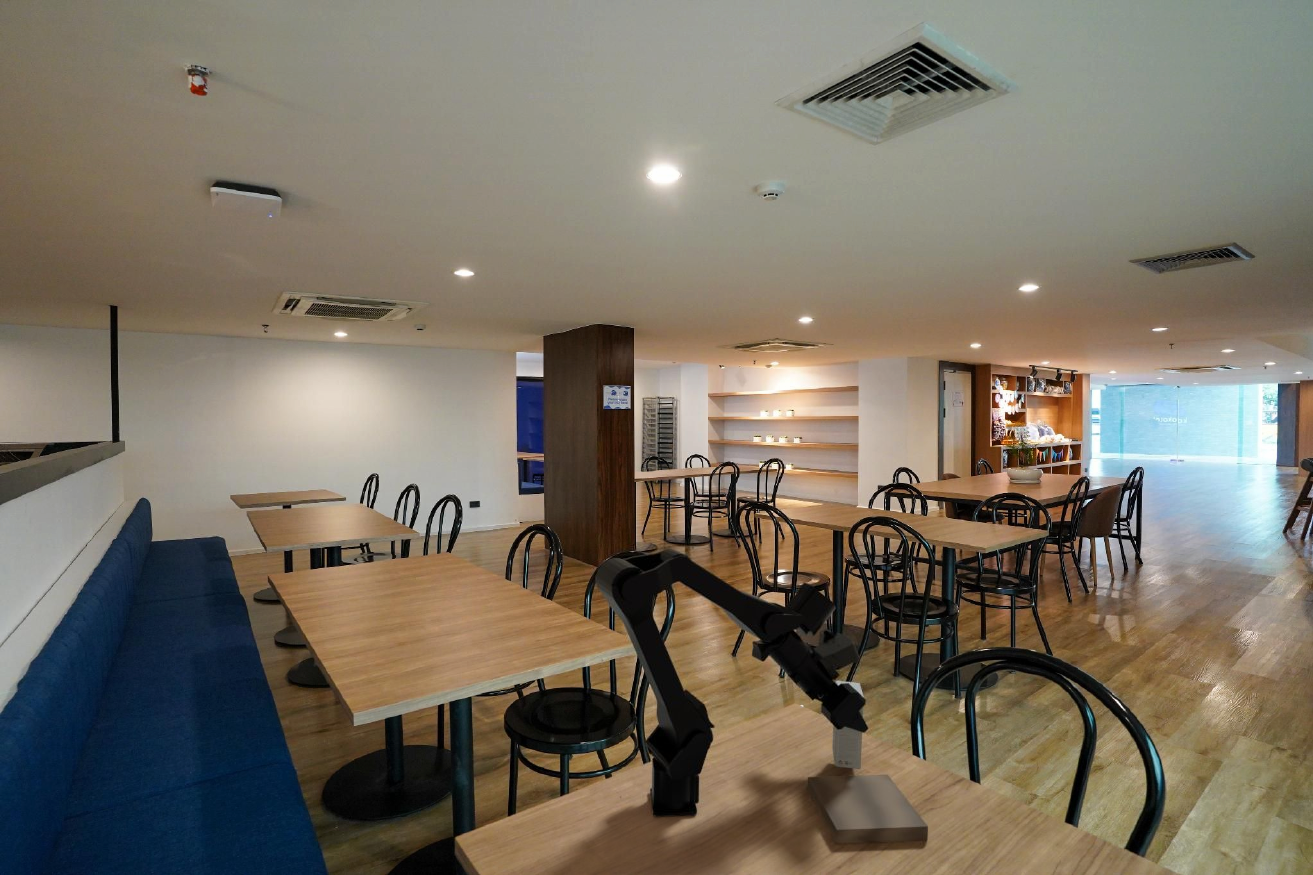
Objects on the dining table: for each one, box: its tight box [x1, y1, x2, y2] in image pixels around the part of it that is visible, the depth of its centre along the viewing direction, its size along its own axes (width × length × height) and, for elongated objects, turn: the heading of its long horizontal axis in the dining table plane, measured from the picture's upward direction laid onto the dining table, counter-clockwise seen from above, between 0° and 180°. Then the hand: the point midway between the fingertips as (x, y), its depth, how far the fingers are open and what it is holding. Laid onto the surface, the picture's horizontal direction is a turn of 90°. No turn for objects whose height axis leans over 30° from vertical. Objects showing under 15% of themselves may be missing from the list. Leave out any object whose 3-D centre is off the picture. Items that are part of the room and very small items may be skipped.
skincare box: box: [831, 680, 865, 770], centre depth 110 cm, size 6×4×12 cm
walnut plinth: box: [806, 774, 929, 845], centre depth 98 cm, size 13×13×2 cm
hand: (855, 719), depth 110 cm, fingers closed on skincare box, 7 cm apart
